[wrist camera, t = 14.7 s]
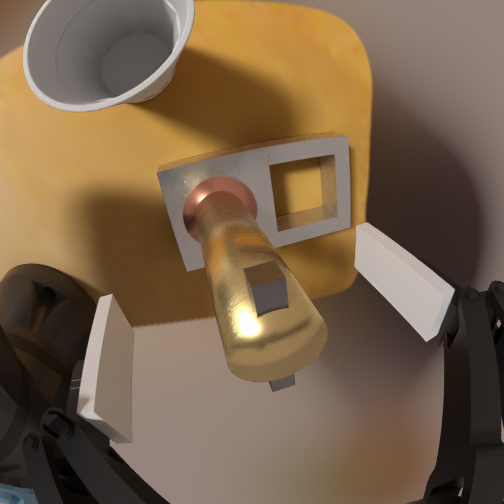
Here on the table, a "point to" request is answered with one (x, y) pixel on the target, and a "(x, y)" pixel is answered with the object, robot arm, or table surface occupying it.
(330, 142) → the plate with copper dome
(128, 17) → the cup
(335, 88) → the table surface
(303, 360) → the brass cylinder with tabs
